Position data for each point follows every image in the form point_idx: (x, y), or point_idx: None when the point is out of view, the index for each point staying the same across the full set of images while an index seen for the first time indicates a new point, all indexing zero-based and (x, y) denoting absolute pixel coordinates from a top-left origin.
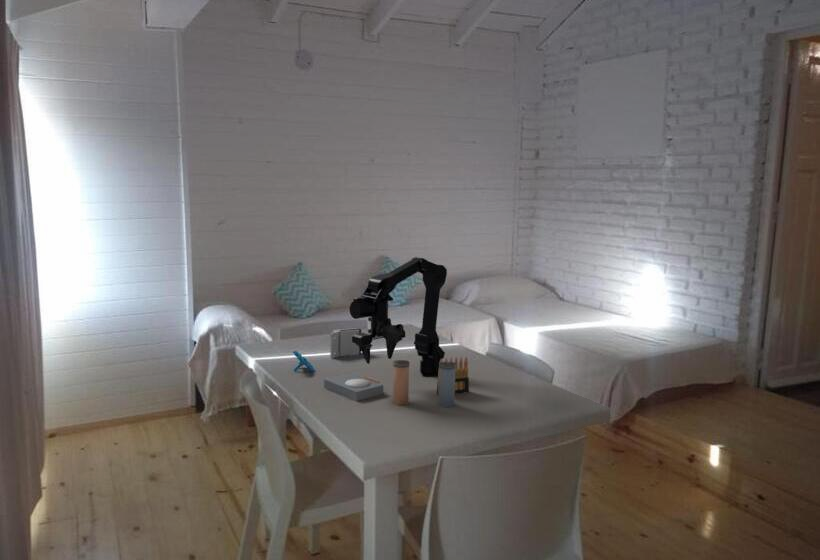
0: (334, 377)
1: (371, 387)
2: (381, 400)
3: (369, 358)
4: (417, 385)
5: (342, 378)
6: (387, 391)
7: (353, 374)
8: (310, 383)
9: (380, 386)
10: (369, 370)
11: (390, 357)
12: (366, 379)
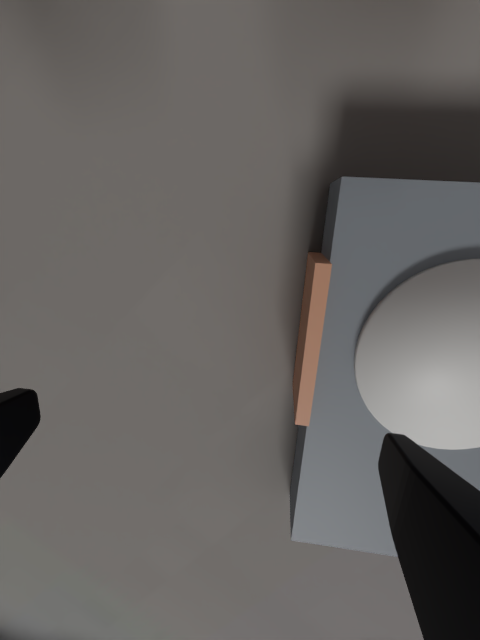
0: None
1: (473, 198)
2: (463, 64)
3: (439, 481)
4: (18, 162)
5: None
6: (263, 210)
7: (299, 513)
8: None
9: (373, 179)
10: (90, 538)
11: (17, 396)
12: (320, 385)
